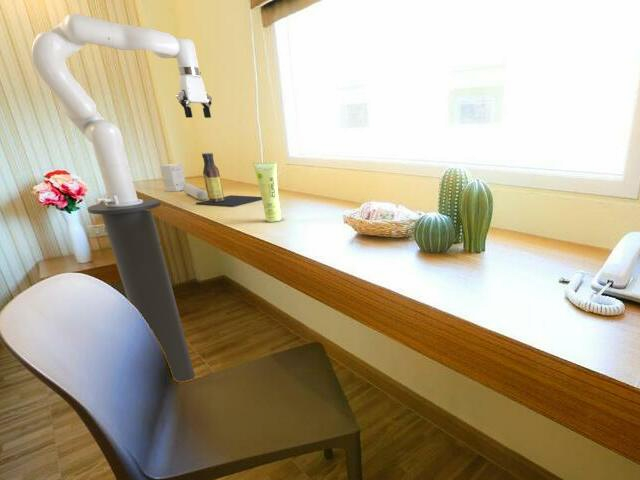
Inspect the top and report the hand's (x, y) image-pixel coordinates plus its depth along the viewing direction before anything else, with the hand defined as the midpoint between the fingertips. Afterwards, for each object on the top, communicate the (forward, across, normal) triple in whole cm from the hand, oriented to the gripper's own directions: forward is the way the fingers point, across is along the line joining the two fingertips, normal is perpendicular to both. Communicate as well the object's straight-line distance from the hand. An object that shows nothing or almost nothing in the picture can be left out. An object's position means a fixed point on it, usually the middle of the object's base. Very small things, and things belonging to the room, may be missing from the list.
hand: (198, 117), depth 169 cm
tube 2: (+34, +32, +59) cm, 75 cm away
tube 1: (+34, +2, -9) cm, 36 cm away
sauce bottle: (+34, +10, +12) cm, 37 cm away
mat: (+34, +6, +16) cm, 38 cm away
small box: (+34, -12, -38) cm, 53 cm away
